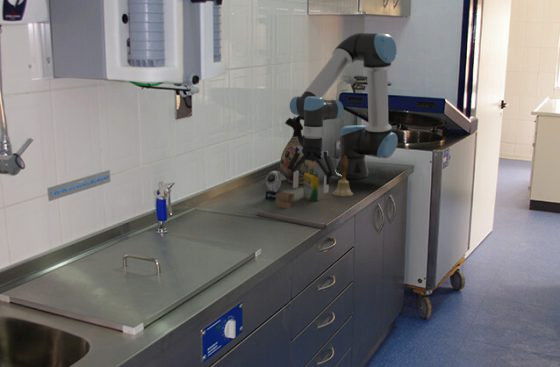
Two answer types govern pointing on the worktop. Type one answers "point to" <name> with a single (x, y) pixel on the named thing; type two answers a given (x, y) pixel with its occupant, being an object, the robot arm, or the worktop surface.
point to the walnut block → (284, 199)
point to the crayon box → (311, 185)
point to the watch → (273, 184)
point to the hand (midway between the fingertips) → (310, 190)
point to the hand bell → (343, 181)
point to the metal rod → (291, 219)
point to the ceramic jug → (290, 151)
